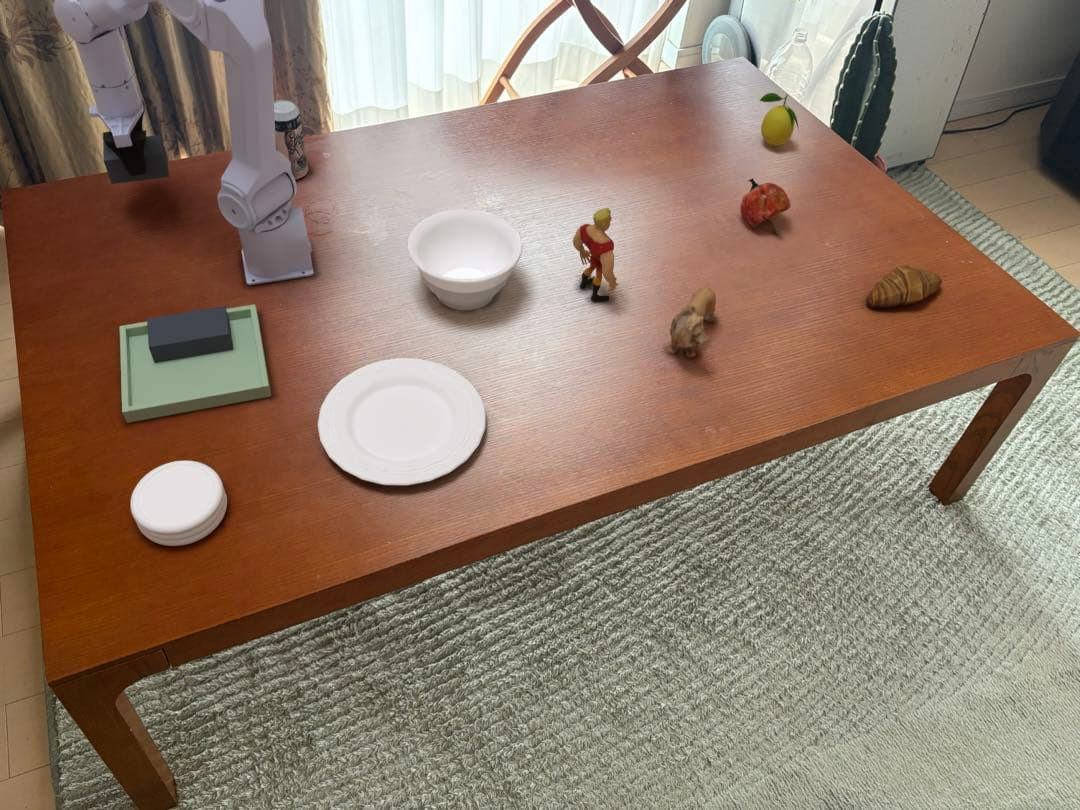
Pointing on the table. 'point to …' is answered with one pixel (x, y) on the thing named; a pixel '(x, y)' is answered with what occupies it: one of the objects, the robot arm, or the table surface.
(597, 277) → the action figure
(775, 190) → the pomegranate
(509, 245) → the bowl
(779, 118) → the lemon
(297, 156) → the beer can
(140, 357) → the tray
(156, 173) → the loose pad
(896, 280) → the croissant
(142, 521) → the white short cylinder
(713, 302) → the lion figurine
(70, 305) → the table surface
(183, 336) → the pad
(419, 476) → the plate
